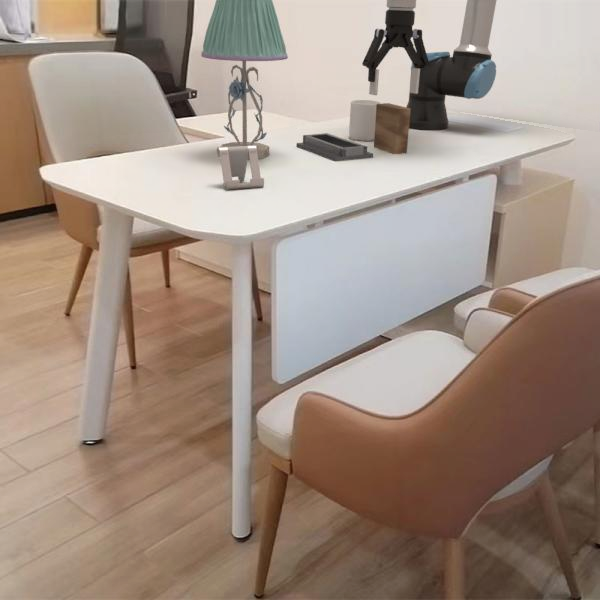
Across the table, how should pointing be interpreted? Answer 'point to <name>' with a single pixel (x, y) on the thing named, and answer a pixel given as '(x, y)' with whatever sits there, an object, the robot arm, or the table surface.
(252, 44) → the table lamp
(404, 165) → the table surface
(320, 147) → the base
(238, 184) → the portable electronic device stand
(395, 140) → the brown wooden block
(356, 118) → the mug
